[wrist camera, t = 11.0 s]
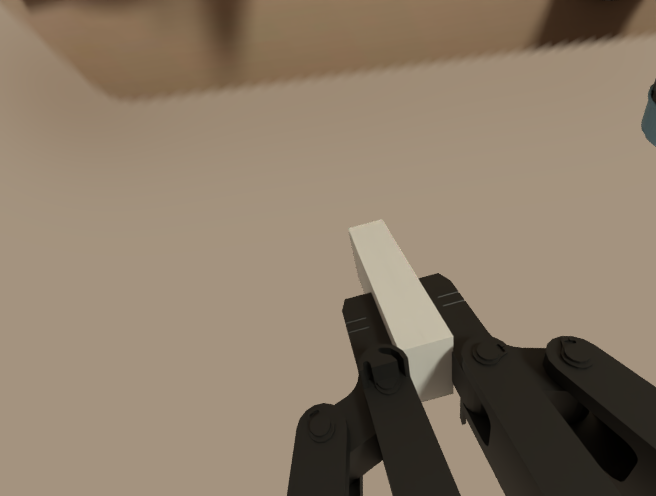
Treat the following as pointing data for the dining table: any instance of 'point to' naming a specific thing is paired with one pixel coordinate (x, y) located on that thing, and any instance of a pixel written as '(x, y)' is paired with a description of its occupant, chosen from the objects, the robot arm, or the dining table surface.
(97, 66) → the dining table surface
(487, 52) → the dining table surface
